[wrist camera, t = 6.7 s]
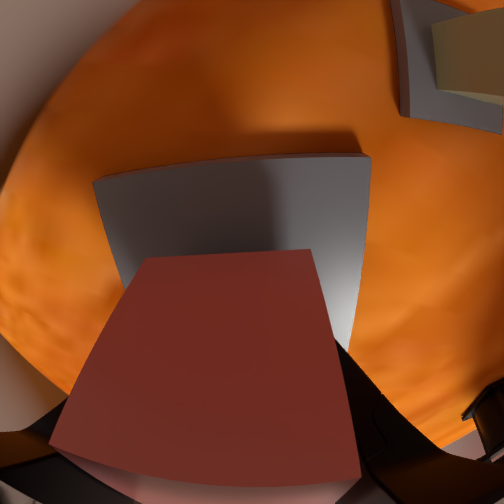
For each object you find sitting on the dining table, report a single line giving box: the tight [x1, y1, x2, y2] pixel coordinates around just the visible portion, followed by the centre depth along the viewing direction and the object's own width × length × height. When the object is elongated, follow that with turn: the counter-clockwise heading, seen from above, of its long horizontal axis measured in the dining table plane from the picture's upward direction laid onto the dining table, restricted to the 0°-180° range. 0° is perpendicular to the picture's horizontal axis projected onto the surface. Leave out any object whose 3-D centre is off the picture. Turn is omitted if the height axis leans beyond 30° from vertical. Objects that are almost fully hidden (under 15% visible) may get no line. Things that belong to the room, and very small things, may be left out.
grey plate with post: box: [93, 153, 371, 352], centre depth 9 cm, size 10×10×7 cm
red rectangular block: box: [49, 249, 362, 504], centre depth 7 cm, size 5×5×7 cm
